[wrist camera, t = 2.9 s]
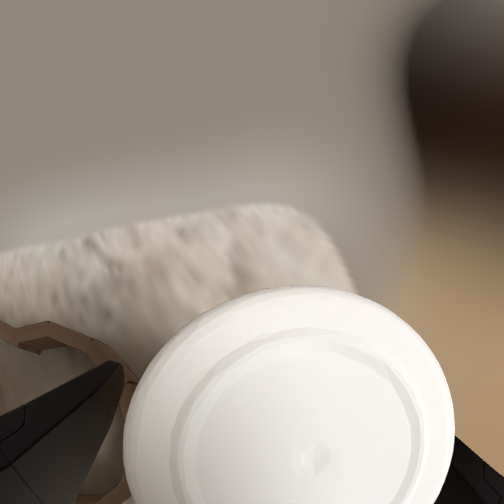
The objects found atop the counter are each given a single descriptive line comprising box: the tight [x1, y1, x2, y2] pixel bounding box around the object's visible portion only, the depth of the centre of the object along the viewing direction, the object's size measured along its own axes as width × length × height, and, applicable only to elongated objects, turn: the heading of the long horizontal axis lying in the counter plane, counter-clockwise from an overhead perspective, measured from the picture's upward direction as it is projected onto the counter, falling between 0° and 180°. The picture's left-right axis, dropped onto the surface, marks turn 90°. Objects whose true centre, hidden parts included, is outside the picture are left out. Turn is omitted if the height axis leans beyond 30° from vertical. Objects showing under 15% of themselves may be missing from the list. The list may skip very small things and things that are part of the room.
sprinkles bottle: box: [123, 285, 455, 504], centre depth 9 cm, size 5×5×14 cm
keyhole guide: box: [0, 321, 140, 504], centre depth 13 cm, size 11×15×2 cm
